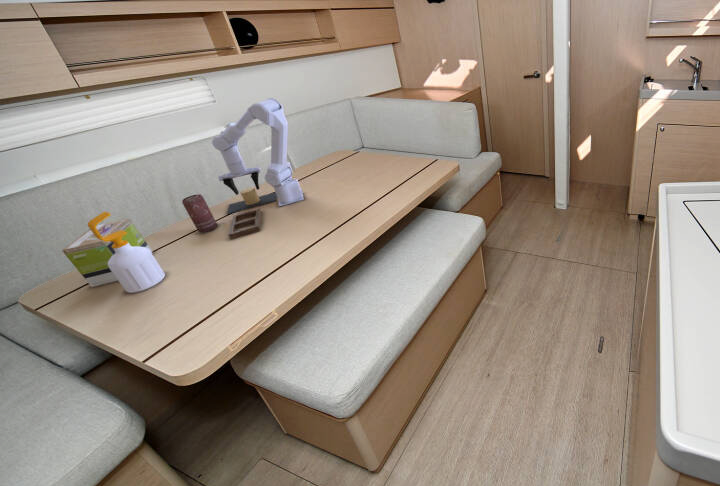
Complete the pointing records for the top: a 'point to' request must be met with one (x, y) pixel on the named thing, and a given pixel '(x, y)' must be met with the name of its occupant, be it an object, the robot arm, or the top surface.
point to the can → (199, 213)
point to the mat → (242, 205)
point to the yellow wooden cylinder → (250, 196)
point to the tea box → (101, 251)
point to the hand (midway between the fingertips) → (248, 191)
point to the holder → (245, 223)
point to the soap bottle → (129, 260)
